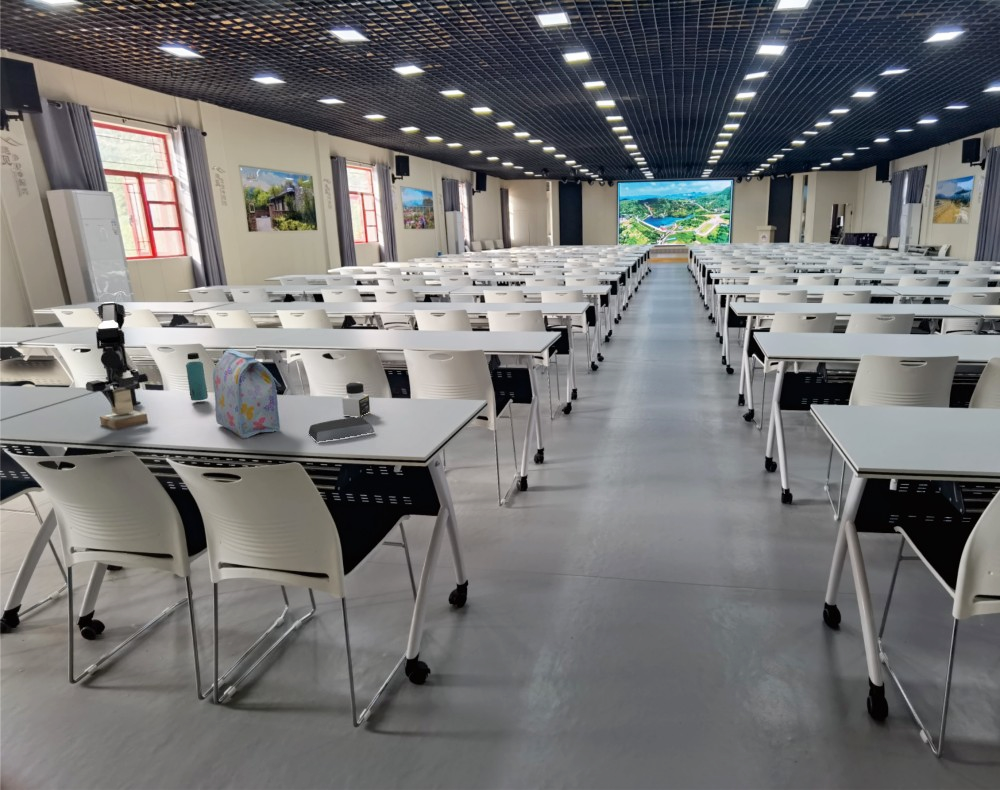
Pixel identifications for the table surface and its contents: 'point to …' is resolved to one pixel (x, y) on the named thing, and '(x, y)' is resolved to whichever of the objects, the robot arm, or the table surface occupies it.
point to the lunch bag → (245, 395)
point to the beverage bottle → (196, 378)
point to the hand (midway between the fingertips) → (121, 405)
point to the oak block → (122, 401)
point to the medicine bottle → (355, 400)
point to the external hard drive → (340, 429)
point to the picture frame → (123, 419)
